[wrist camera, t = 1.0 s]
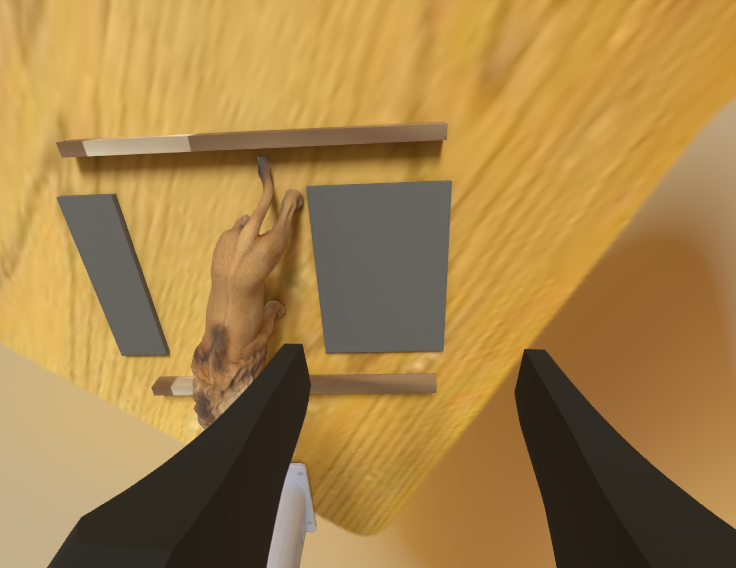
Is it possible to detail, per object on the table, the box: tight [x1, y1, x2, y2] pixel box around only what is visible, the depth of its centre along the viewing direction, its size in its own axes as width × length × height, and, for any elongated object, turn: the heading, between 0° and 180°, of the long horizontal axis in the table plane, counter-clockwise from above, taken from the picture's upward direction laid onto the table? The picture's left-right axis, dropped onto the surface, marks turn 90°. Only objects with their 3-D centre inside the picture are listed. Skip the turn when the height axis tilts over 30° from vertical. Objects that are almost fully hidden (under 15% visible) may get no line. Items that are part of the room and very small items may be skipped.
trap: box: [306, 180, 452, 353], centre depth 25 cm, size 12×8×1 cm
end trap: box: [57, 194, 169, 356], centre depth 26 cm, size 12×4×1 cm, turn 3°
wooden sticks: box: [56, 122, 447, 395], centre depth 25 cm, size 18×22×1 cm
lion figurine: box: [191, 155, 303, 429], centre depth 22 cm, size 15×5×9 cm, turn 174°
